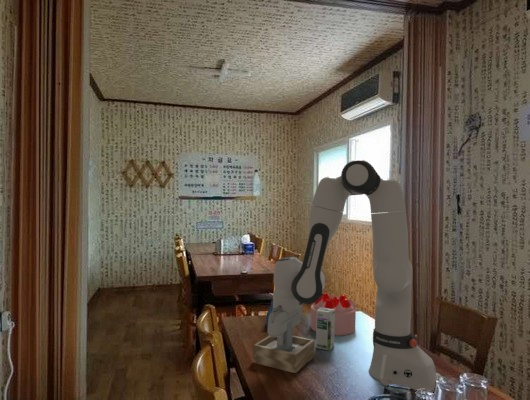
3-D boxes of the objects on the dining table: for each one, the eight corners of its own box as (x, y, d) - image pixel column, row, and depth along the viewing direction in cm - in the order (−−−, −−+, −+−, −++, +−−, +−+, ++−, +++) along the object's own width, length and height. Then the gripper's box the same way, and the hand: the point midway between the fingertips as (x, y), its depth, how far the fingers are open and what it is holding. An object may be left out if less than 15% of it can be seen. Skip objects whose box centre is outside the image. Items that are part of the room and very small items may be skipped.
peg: (291, 354, 138) (292, 320, 138) (286, 358, 135) (287, 323, 135) (281, 352, 140) (282, 318, 140) (276, 355, 136) (277, 321, 137)
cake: (308, 321, 183) (309, 290, 183) (351, 322, 182) (352, 292, 182) (312, 335, 163) (312, 301, 163) (360, 337, 162) (360, 302, 162)
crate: (314, 356, 140) (314, 340, 140) (295, 373, 126) (295, 354, 126) (274, 347, 148) (275, 331, 148) (253, 362, 134) (253, 344, 134)
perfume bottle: (280, 327, 172) (280, 300, 172) (266, 326, 173) (266, 299, 173) (282, 323, 178) (282, 297, 178) (269, 322, 179) (269, 296, 179)
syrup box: (315, 348, 149) (316, 310, 149) (320, 343, 154) (321, 306, 154) (329, 351, 146) (330, 312, 146) (334, 346, 151) (335, 308, 151)
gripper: (280, 311, 127) (279, 353, 127) (305, 298, 144) (304, 335, 144) (263, 308, 130) (262, 349, 130) (290, 295, 148) (289, 332, 148)
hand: (284, 342), depth 137 cm, fingers closed on peg, 4 cm apart
